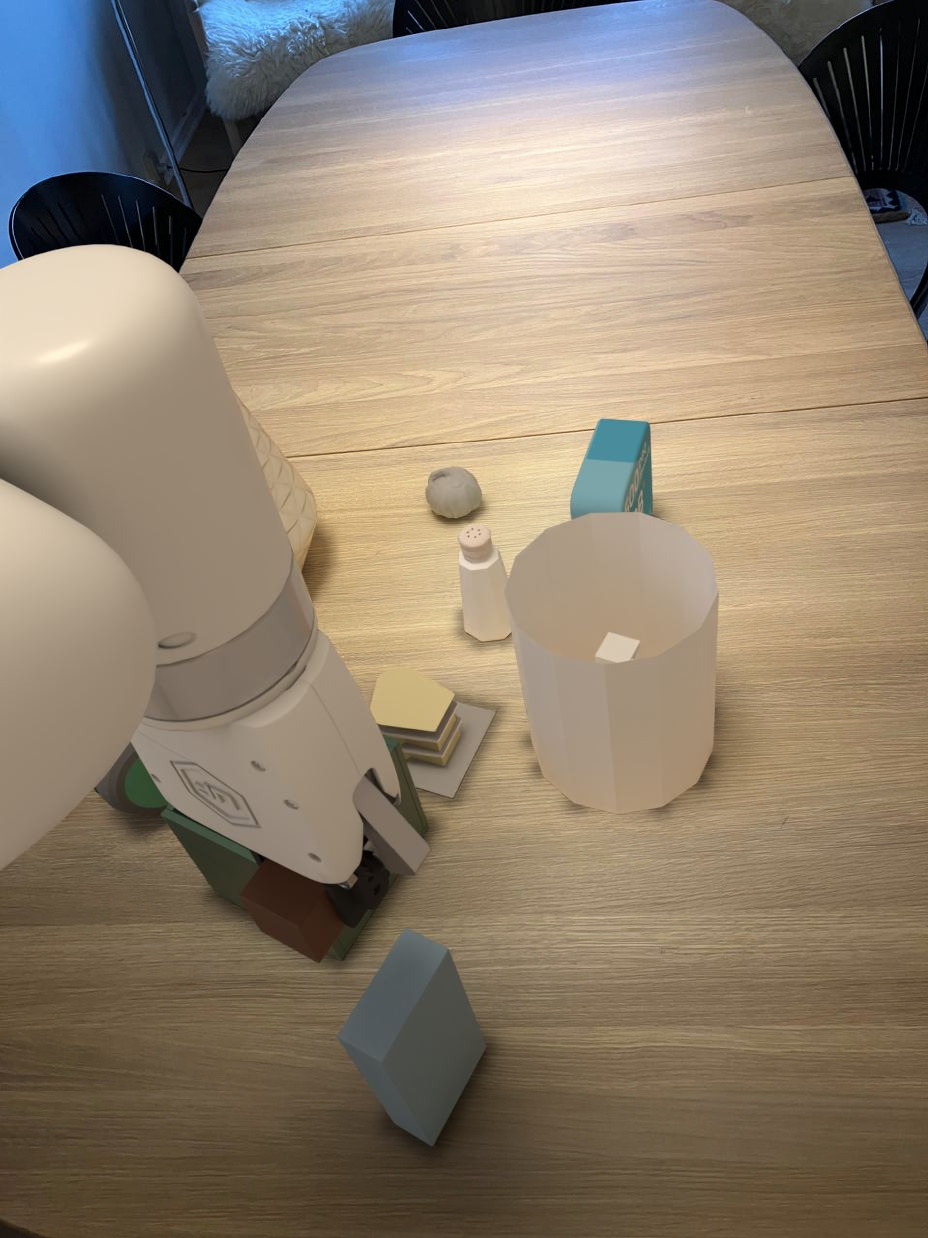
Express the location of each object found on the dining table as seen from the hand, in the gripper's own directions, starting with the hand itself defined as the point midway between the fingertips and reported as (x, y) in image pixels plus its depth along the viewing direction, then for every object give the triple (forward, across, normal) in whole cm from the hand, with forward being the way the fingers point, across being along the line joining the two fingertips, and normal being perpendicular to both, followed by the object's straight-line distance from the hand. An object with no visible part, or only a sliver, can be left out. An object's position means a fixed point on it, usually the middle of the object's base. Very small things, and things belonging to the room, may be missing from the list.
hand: (330, 879), depth 48 cm
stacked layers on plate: (+27, -15, +23) cm, 39 cm away
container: (+27, 0, +30) cm, 40 cm away
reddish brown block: (+1, 0, 0) cm, 1 cm away
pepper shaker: (+27, -16, +37) cm, 48 cm away
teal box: (+27, -10, +49) cm, 57 cm away
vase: (+27, -42, +33) cm, 60 cm away
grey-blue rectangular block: (+27, +1, 0) cm, 27 cm away
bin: (+27, -16, +10) cm, 33 cm away
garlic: (+27, -28, +49) cm, 62 cm away
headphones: (+27, -38, +12) cm, 48 cm away
